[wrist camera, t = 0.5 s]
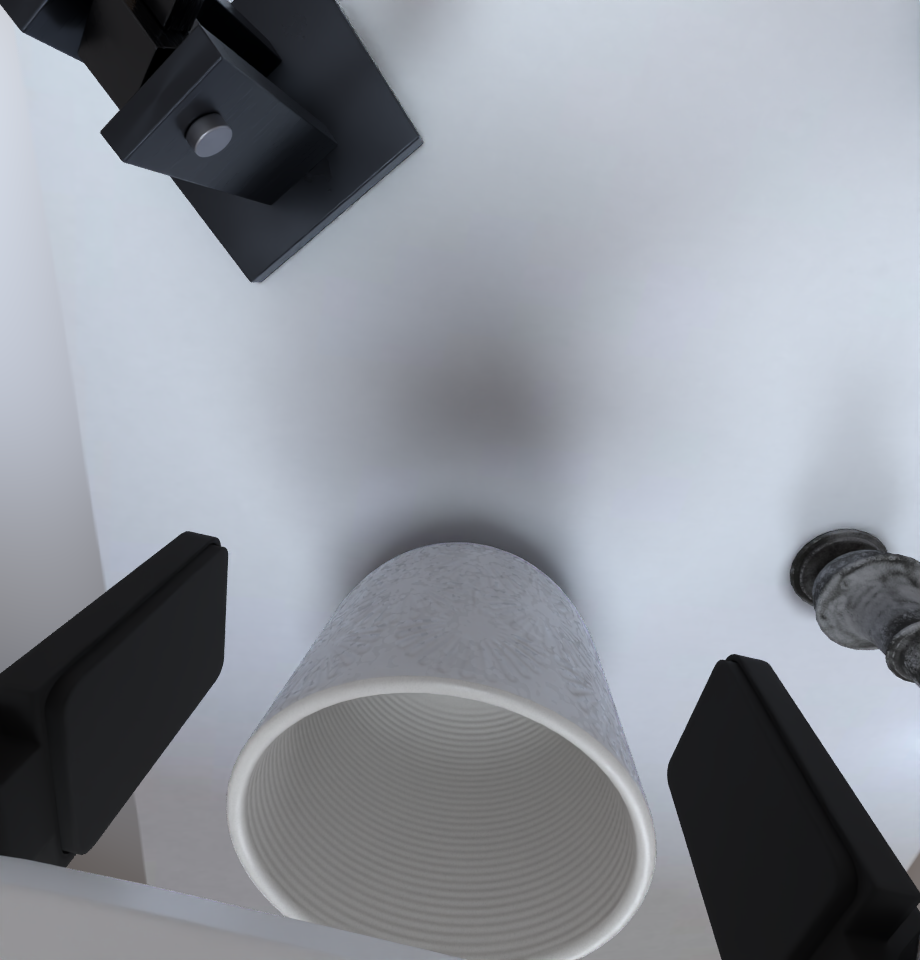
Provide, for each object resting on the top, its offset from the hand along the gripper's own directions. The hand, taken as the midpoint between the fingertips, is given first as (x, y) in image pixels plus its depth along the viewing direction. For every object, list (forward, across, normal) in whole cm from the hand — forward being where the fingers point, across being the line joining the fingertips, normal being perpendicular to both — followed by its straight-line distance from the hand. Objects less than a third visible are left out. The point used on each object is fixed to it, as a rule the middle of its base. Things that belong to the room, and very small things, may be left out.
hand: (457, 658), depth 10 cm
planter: (+21, -1, +14) cm, 26 cm away
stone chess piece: (+21, -22, +5) cm, 31 cm away
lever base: (+21, +13, -11) cm, 27 cm away
